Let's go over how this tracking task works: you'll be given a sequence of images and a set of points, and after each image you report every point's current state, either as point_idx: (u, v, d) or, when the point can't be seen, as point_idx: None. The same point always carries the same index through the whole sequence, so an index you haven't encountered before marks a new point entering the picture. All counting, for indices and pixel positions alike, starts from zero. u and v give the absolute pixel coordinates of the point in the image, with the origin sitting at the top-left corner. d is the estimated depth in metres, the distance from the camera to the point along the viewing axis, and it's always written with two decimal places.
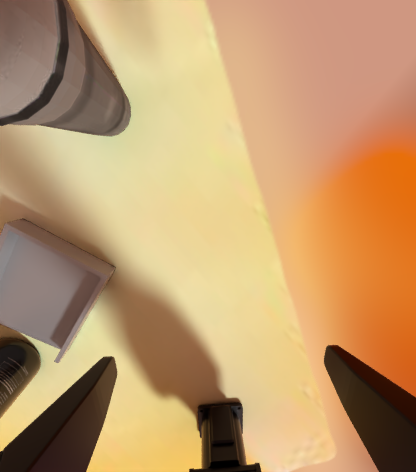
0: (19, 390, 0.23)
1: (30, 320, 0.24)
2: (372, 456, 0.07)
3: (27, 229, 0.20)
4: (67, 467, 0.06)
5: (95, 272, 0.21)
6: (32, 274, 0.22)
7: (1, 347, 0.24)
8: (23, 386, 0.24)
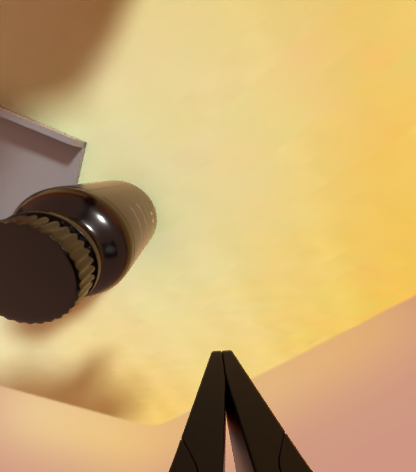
0: (104, 182, 0.15)
1: None
2: (235, 465, 0.06)
3: None
4: (224, 457, 0.06)
5: None
6: None
7: None
8: (109, 182, 0.16)
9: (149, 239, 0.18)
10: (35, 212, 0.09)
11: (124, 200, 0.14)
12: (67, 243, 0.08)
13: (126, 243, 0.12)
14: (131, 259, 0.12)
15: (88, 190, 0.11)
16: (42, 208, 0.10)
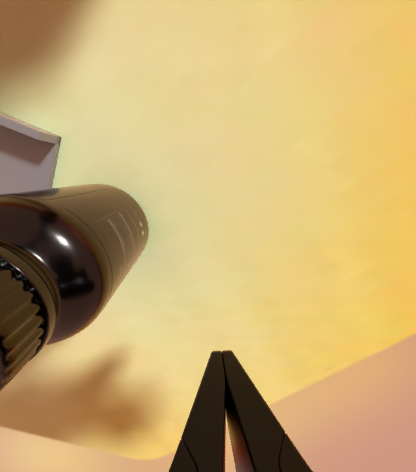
0: (78, 187, 0.12)
1: None
2: (235, 465, 0.06)
3: None
4: (224, 457, 0.06)
5: None
6: None
7: None
8: (85, 186, 0.13)
9: (138, 256, 0.14)
10: None
11: (101, 211, 0.10)
12: None
13: (98, 273, 0.08)
14: (107, 293, 0.09)
15: (43, 199, 0.08)
16: None
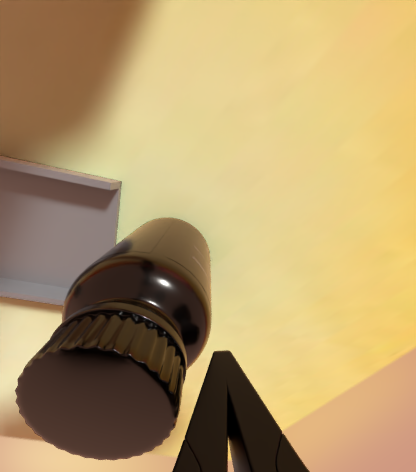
0: (152, 227, 0.13)
1: (84, 242, 0.17)
2: (233, 465, 0.06)
3: None
4: (227, 457, 0.06)
5: None
6: (6, 250, 0.16)
7: None
8: (157, 225, 0.13)
9: None
10: (99, 310, 0.07)
11: (185, 250, 0.11)
12: (152, 356, 0.06)
13: (205, 313, 0.09)
14: (210, 328, 0.10)
15: (148, 252, 0.09)
16: (101, 292, 0.08)
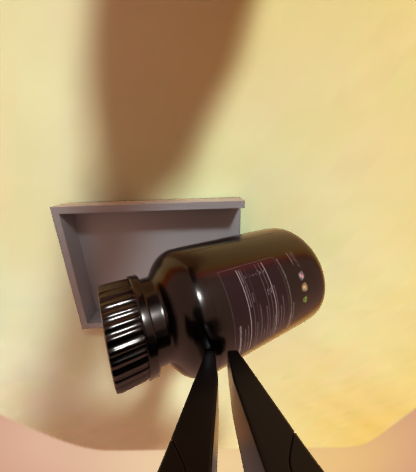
0: (240, 235, 0.13)
1: None
2: (243, 464, 0.06)
3: None
4: (215, 458, 0.06)
5: (58, 224, 0.15)
6: None
7: None
8: (248, 233, 0.13)
9: (298, 316, 0.11)
10: (127, 278, 0.10)
11: (233, 261, 0.10)
12: (111, 318, 0.08)
13: (198, 328, 0.08)
14: None
15: (186, 251, 0.10)
16: (150, 271, 0.11)
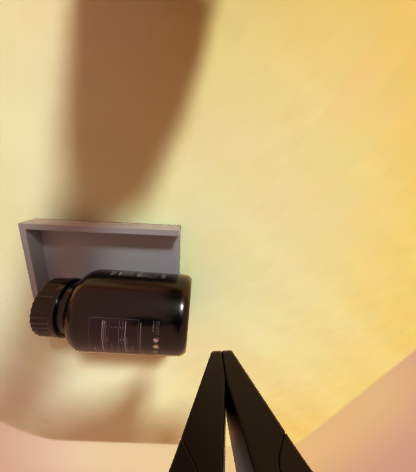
0: (146, 283, 0.16)
1: None
2: (235, 465, 0.06)
3: None
4: (224, 457, 0.06)
5: (24, 237, 0.18)
6: None
7: None
8: (152, 285, 0.16)
9: None
10: (59, 286, 0.16)
11: (106, 313, 0.15)
12: (34, 312, 0.15)
13: (68, 339, 0.15)
14: (77, 349, 0.15)
15: (87, 289, 0.15)
16: None
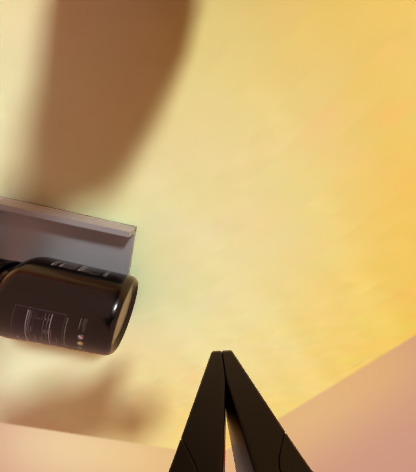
0: (84, 279, 0.16)
1: None
2: (235, 465, 0.06)
3: None
4: (224, 457, 0.06)
5: None
6: None
7: None
8: (90, 282, 0.16)
9: (77, 350, 0.16)
10: None
11: (33, 303, 0.15)
12: None
13: None
14: None
15: (20, 276, 0.15)
16: None
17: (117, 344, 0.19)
